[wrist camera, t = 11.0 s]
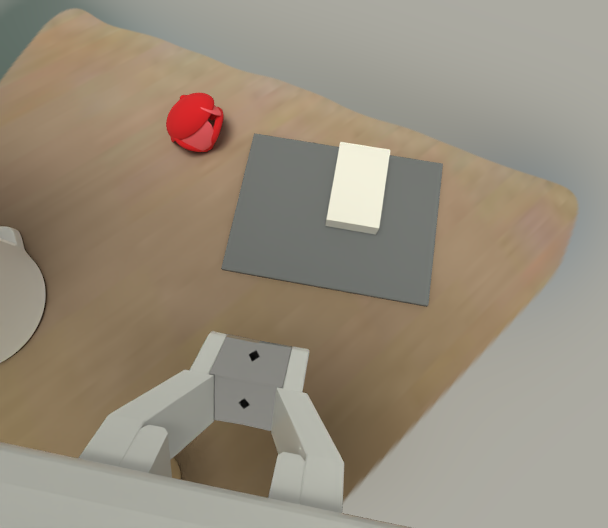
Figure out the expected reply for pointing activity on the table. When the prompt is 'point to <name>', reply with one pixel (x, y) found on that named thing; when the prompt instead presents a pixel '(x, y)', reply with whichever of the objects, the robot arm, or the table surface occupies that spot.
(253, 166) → the mat
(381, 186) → the tile
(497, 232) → the table surface
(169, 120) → the red rounded piece
